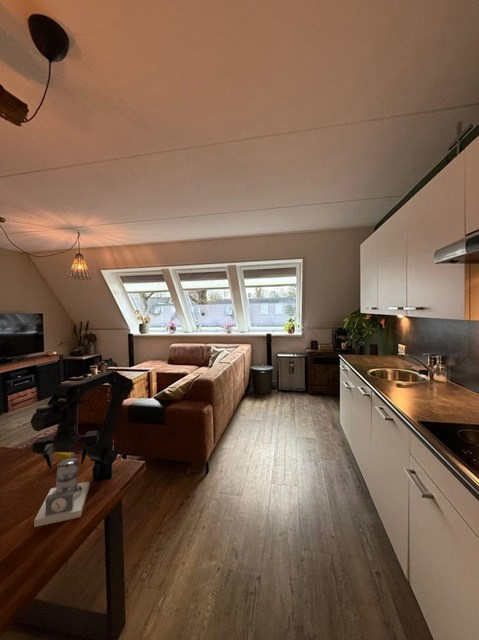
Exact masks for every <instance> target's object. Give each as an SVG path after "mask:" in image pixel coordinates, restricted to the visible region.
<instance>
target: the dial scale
mask: <svg viewBox="0 0 479 640" xmlns="http://www.w3.org/2000/svg"><path fill="white" fill-rule="evenodd" d="M90 483H91V482H90V481H84V482H77V491H76V492H75V493H74V491H69V492H63V493H58V494H56V487H52V488H50V490H49V491H48V494H47V496H46V497H45V499H44V501H43V503H42V505H41V507H40V509H39V511H38V512H37V515H36V516H35V518H34V520H33V521H34V523H33V524H34V525H33V527H34V528H36V527H41V526H44V525H50V524H54V523H55V524H56V523H59V522H63V521H67V520H72V519H77V518H82V517H81V516H82V512H83V509H84V506H85V502H86V499H87V497H88V493H89V489H90Z"/></svg>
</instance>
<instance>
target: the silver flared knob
mask: <svg viewBox="0 0 479 640" xmlns="http://www.w3.org/2000/svg"><path fill="white" fill-rule="evenodd" d="M56 466H57V467H56V479H57V481H58V482H68V481H71V480H73V479H75V478H76V477H77V478H78V476H79V459H78V458H76V457H74V458H69V459H65V460H63V461H59V462H58V463H57V465H56Z"/></svg>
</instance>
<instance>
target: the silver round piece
mask: <svg viewBox="0 0 479 640" xmlns="http://www.w3.org/2000/svg"><path fill="white" fill-rule="evenodd" d="M55 480H56V482H55V488H56V494H58V493H63V492H69V491H74V493H75V492H76V491H77V484H78V476H77V477H76V478H75V479H73V480H71V481H68V482H58V481H57V478H56V479H55Z"/></svg>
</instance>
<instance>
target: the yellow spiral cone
mask: <svg viewBox="0 0 479 640" xmlns="http://www.w3.org/2000/svg"><path fill="white" fill-rule="evenodd" d="M54 454H55V455H56V456H57V458H58V459H59V462H61V461H63V460H65V459H69V458H75V453H74V452H73V451H69V452H66V451H59V452H54Z"/></svg>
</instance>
